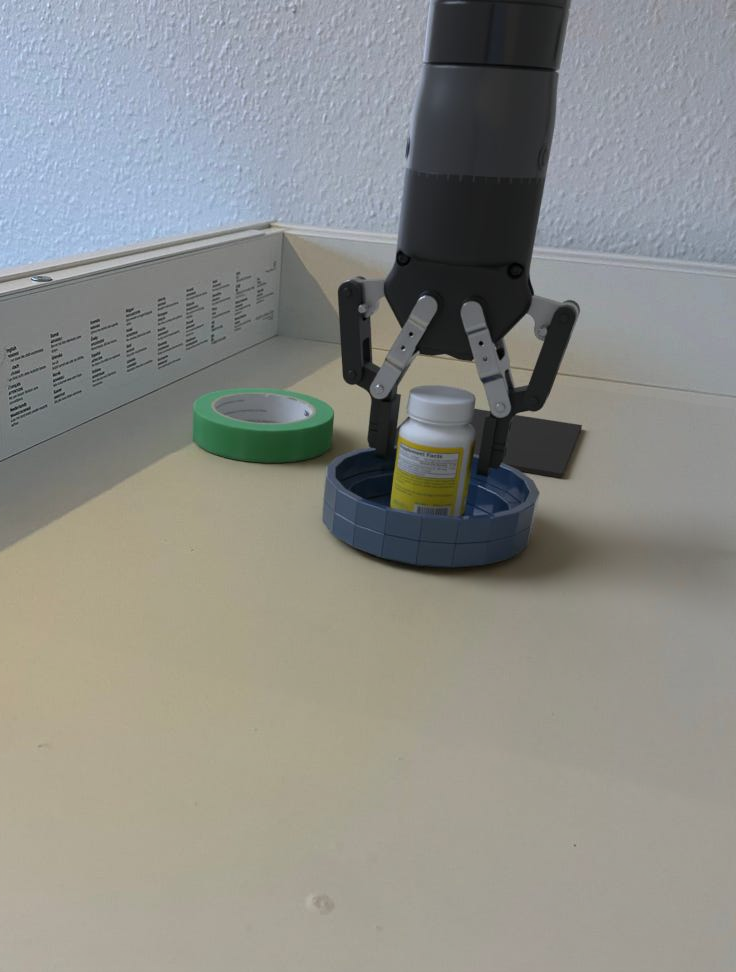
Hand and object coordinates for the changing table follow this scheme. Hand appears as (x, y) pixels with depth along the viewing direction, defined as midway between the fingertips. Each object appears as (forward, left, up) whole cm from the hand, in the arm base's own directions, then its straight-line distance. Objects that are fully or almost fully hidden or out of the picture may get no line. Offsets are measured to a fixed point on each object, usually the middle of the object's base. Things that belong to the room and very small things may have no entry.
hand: (433, 462), depth 61 cm
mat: (0, -22, -5) cm, 22 cm away
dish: (0, 0, -5) cm, 5 cm away
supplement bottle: (0, 0, -4) cm, 4 cm away
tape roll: (+16, -12, -5) cm, 21 cm away
